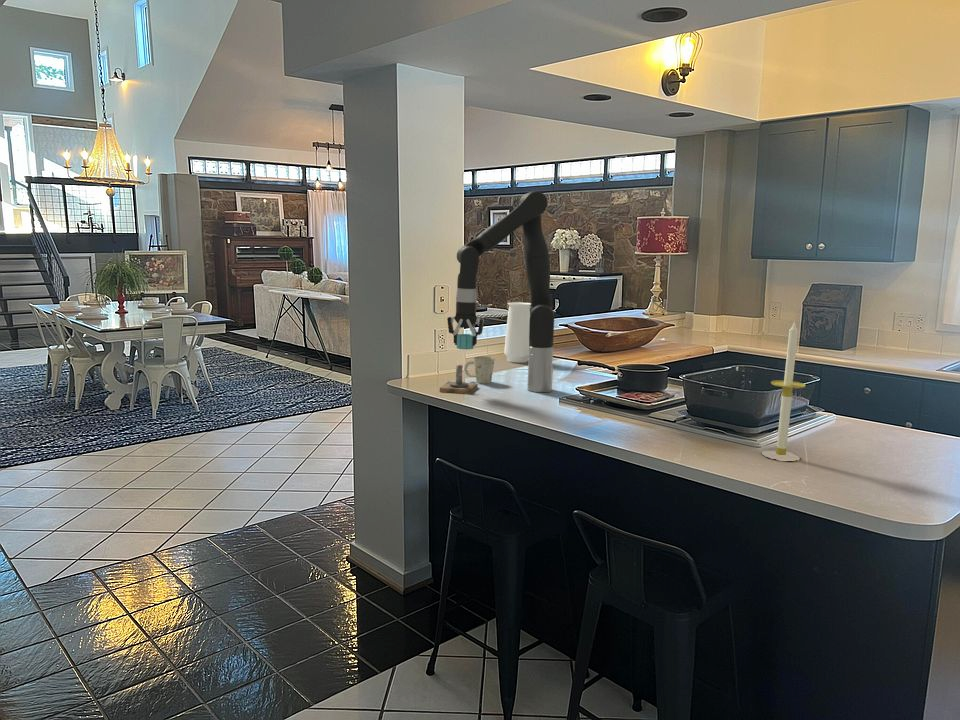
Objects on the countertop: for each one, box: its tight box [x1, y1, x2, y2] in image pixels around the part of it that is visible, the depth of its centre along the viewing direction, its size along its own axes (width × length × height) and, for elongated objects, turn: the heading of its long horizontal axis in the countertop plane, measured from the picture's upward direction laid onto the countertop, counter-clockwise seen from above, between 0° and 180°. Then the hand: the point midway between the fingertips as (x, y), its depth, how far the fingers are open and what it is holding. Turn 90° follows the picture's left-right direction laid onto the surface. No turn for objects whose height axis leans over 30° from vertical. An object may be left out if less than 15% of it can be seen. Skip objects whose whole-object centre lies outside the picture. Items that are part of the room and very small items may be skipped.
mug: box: [463, 355, 496, 384], centre depth 274 cm, size 8×13×10 cm, turn 78°
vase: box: [503, 301, 531, 364], centre depth 324 cm, size 13×13×28 cm
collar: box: [456, 333, 474, 350], centre depth 253 cm, size 6×6×5 cm
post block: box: [439, 364, 479, 395], centre depth 258 cm, size 12×12×10 cm
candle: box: [770, 319, 806, 455], centre depth 181 cm, size 10×10×38 cm
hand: (465, 345), depth 253 cm, fingers closed on collar, 6 cm apart
